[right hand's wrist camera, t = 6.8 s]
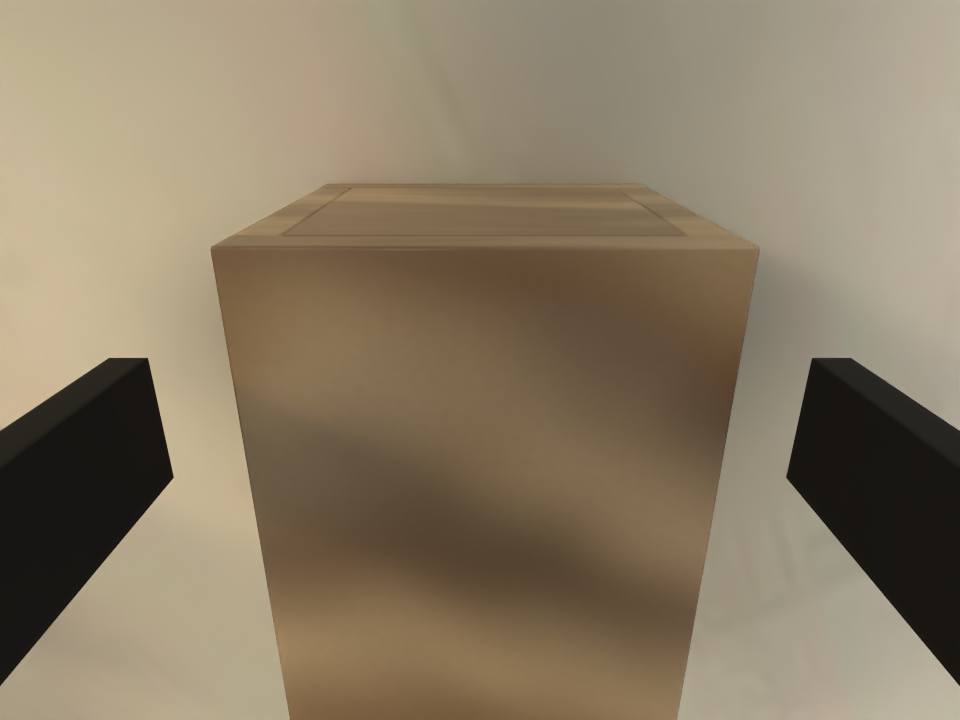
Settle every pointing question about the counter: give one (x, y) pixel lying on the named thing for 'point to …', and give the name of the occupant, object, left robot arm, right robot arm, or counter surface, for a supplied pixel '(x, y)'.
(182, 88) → the counter surface
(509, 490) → the cabinet
